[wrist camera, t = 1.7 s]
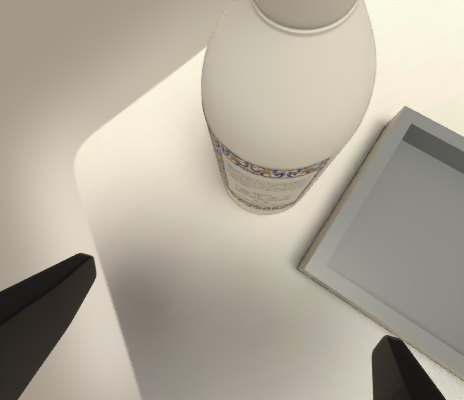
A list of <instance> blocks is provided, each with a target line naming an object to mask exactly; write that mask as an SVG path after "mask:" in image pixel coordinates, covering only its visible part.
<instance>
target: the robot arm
mask: <svg viewBox="0 0 464 400" xmlns="http://www.w3.org/2000/svg"><path fill="white" fill-rule="evenodd" d="M95 278H96V267H95V261H94V257H93V256H91V255H88V254H84V253H79V254H76V255H74V256H72V257H70V258H68V259H66V260H64V261H62V262H60V263H58V264H56V265H54V266H52V267H49V268H47V269H45V270H44V271H41V272H40V273H37V274H35V275H33V276H31V277H29V278H27V279H25V280H23V281H21V282H19V283H17V284H15V285H13V286H11V287H9V288H7V289H5V290H3V291H1V292H0V400H18V398H19V397H20V396H21V394H22V393H23V391H24V390H25V388H26V387H27V385H28V384H29V382H30V381H31V380H32V378H33V377H34V375H35V374H36V372H37V371H38V369H39V368H40V367H41V365H42V364H43V362H44V361H45V360H46V358H47V357H48V355H49V354H50V353H51V351H52V350H53V348H54V347H55V345H56V344H57V343H58V341H59V340H60V338H61V337H62V335H63V334H64V333H65V331H66V330H67V328H68V326H69V325H70V323H71V322H72V320H73V318H74V317H75V315H76V313H77V311H78V310H79V308H80V306H81V304H82V302H83V300H84V299H85V297H86V295H87V293H88V292H89V290H90V288H91V286H92V284H93V283H94V281H95ZM372 379H373V400H446V399H445V397H444V396H443V395H442V393H441V392H440V391H439V389H438V388H437V387H436V385H435V384H434V383H433V381H432V380H431V379H430V377H429V376H428V374H427V373H426V372H425V370H424V369H423V368H422V366H421V365H420V364H419V362H418V361H417V360H416V358H415V357H414V356H413V354H412V353H411V352H410V350H409V349H408V348H407V346H406V345H405V343H404V342H403V341H402V340H401V339H399V338H396V337H392V336H389V335H386V336H384V337H383V338H382V339H381V340H380V342H379V343H378V344H377V346H376V347H375V348H374V350H373V352H372Z"/></svg>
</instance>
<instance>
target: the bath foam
mask: <svg viewBox="0 0 464 400" xmlns="http://www.w3.org/2000/svg"><path fill="white" fill-rule="evenodd" d="M375 76H376V47H375V40H374V35H373V30H372V26H371V22H370V19H369V15H368V12H367V9H366V5H365V2H364V0H232V2H231V3H230V4H229V6H228V7H227V9H226V10H225V12H224V13H223V15H222V16H221V18H220V20H219V21H218V23H217V25H216V27H215V29H214V31H213V33H212V36H211V38H210V40H209V43H208V46H207V49H206V53H205V57H204V62H203V68H202V78H201V93H202V106H203V112H204V115H205V119H206V122H207V126H208V130H209V133H210V137H211V140H212V144H213V147H214V151H215V154H216V158H217V161H218V165H219V168H220V172H221V176H222V179H223V182H224V185H225V188H226V190H227V192H228V193H229V195H230V196H231V198H232V199H233V200H234V201H235V202H236V203H237V204H238V205H240V206H241V207H242V208H244V209H246V210H248V211H250V212H253V213H256V214H263V215H271V214H277V213H280V212H283V211H286V210H288V209H289V208H291V207H293V206H294V205H295V204H296V203H297V202H298V201H299V200H300V199H301V198H302V197H303V196H304V195H305V193H306V192H307V191H308V190H309V189H310V187H311V186H312V185H313V184H314V183H315V181H316V180H317V179H318V178H319V177H320V175H321V174H322V173H323V172H324V170H325V169H326V168H327V167H328V166H329V164H330V163H331V162H332V161H333V160H334V158H335V157H336V156H337V155H338V154H339V152H340V151H341V150H342V149H343V147H344V146H345V145H346V144H347V142H348V141H349V140H350V139H351V137H352V136H353V134H354V133H355V132H356V130H357V128H358V127H359V125H360V123H361V122H362V119H363V117H364V115H365V113H366V111H367V108H368V105H369V103H370V100H371V96H372V92H373V88H374V84H375Z"/></svg>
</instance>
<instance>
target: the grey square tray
mask: <svg viewBox="0 0 464 400" xmlns="http://www.w3.org/2000/svg"><path fill="white" fill-rule="evenodd" d="M297 270H299V271H300V272H302V273H303V274H305V275H306V276H308V277H309V278H311V279H312V280H314V281H315V282H317V283H318V284H320V285H321V286H323V287H324V288H326V289H327V290H329V291H330V292H332V293H333V294H335V295H336V296H338V297H339V298H341V299H342V300H344V301H345V302H347V303H348V304H350V305H351V306H353V307H354V308H356V309H357V310H359V311H360V312H362V313H363V314H364V315H366V316H367V317H369V318H370V319H372V320H373V321H375V322H376V323H378V324H379V325H381V326H382V327H384V328H385V329H387V330H388V331H390V332H391V333H393V334H394V335H396V336H397V337H399V338H400V339H402V340H403V341H405V342H406V343H408V344H409V345H411V346H412V347H414V348H415V349H417V350H418V351H420V352H421V353H423V354H424V355H426V356H427V357H429V358H430V359H431V360H433V361H434V362H436V363H437V364H439V365H440V366H442V367H443V368H445V369H446V370H448V371H449V372H451V373H452V374H454V375H455V376H457V377H458V378H460V379H461V380H463V381H464V137H463V136H461V135H459V134H457V133H455V132H453V131H451V130H450V129H448V128H446V127H444V126H442V125H440V124H438V123H436V122H434V121H433V120H431V119H429V118H427V117H425V116H423V115H421V114H419V113H418V112H416V111H414V110H412V109H410V108H408V107H406V106H405V107H404V108H403V109H402V110H401V111H400V112H399V113H398V114H397V115H396V116H395V117H394V118H393V119H392V120H391V121H390V122H389V123H388V124H387V125H386V126H385V128H384V129H383V131H382V132H381V134H380V136H379V137H378V139H377V140H376V142H375V144H374V145H373V147H372V148H371V150H370V152H369V153H368V155H367V156H366V158H365V160H364V161H363V163H362V165H361V166H360V168H359V169H358V171H357V173H356V174H355V176H354V177H353V179H352V181H351V182H350V184H349V185H348V187H347V189H346V190H345V192H344V193H343V195H342V197H341V198H340V200H339V201H338V203H337V205H336V206H335V208H334V210H333V211H332V213H331V214H330V216H329V218H328V219H327V221H326V222H325V224H324V226H323V227H322V229H321V230H320V232H319V234H318V235H317V237H316V238H315V240H314V242H313V243H312V245H311V246H310V248H309V250H308V251H307V253H306V254H305V256H304V258H303V259H302V261H301V263H300V264H299V266H298V267H297Z"/></svg>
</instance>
